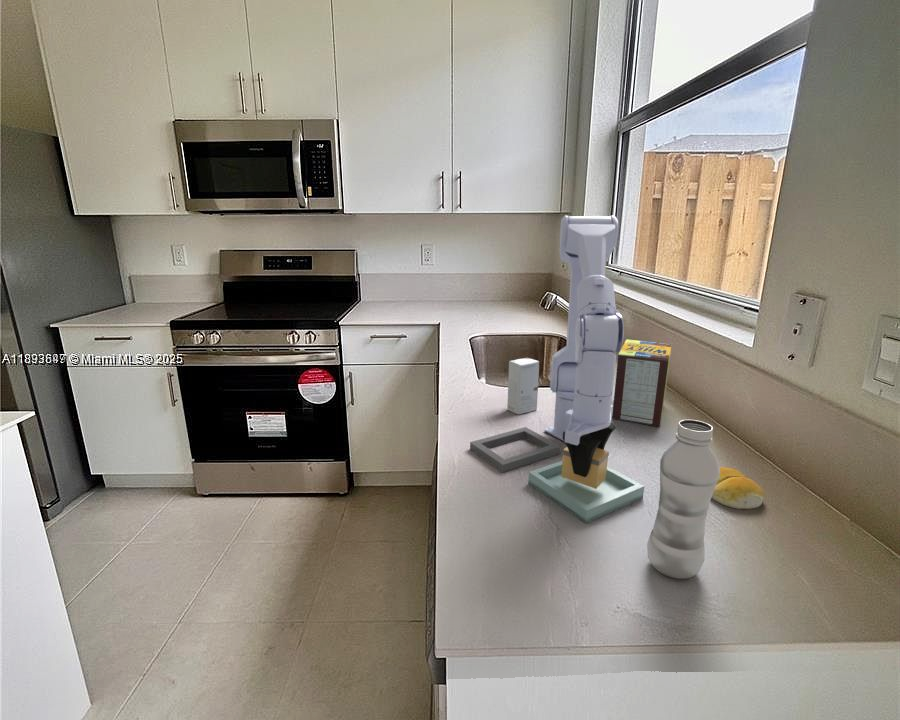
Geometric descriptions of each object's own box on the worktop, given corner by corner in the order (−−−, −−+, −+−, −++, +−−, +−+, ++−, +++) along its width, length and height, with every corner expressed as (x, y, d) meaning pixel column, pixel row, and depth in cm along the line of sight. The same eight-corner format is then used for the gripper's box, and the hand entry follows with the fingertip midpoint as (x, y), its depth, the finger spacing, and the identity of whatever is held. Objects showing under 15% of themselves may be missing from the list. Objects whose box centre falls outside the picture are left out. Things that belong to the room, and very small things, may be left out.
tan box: (571, 467, 81) (573, 440, 80) (606, 478, 78) (609, 451, 76) (560, 476, 78) (563, 449, 77) (596, 489, 75) (599, 460, 73)
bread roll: (732, 479, 82) (736, 458, 81) (772, 509, 74) (777, 486, 73) (688, 482, 81) (691, 461, 80) (723, 512, 73) (727, 489, 72)
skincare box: (518, 415, 109) (520, 365, 106) (506, 409, 113) (507, 360, 109) (538, 409, 112) (540, 361, 109) (525, 404, 116) (527, 356, 112)
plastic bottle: (635, 552, 64) (653, 415, 58) (683, 550, 64) (706, 413, 59) (660, 588, 57) (683, 438, 52) (712, 584, 58) (741, 436, 52)
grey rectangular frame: (525, 433, 100) (525, 426, 99) (560, 453, 91) (561, 446, 91) (470, 449, 93) (470, 442, 92) (502, 472, 84) (502, 464, 84)
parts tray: (582, 464, 87) (583, 453, 86) (642, 498, 76) (644, 486, 76) (528, 483, 80) (529, 472, 80) (585, 523, 70) (587, 510, 69)
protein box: (663, 404, 116) (672, 343, 112) (660, 427, 103) (669, 359, 98) (619, 397, 120) (625, 338, 116) (610, 419, 107) (617, 353, 103)
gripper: (587, 374, 81) (581, 446, 85) (548, 397, 70) (543, 478, 74) (628, 382, 77) (620, 457, 81) (594, 409, 66) (586, 494, 70)
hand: (586, 468), depth 77 cm, fingers closed on tan box, 4 cm apart
